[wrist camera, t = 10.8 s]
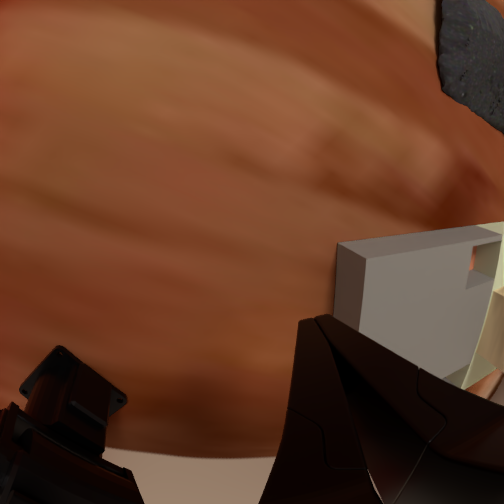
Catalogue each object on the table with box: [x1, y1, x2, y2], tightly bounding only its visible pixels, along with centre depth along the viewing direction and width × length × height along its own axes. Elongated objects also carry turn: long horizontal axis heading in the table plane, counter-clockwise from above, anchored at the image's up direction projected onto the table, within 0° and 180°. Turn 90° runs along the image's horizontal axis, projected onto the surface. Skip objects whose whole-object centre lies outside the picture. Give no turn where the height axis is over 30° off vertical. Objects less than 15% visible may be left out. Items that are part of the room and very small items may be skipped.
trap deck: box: [333, 222, 504, 390], centre depth 26 cm, size 25×18×4 cm
